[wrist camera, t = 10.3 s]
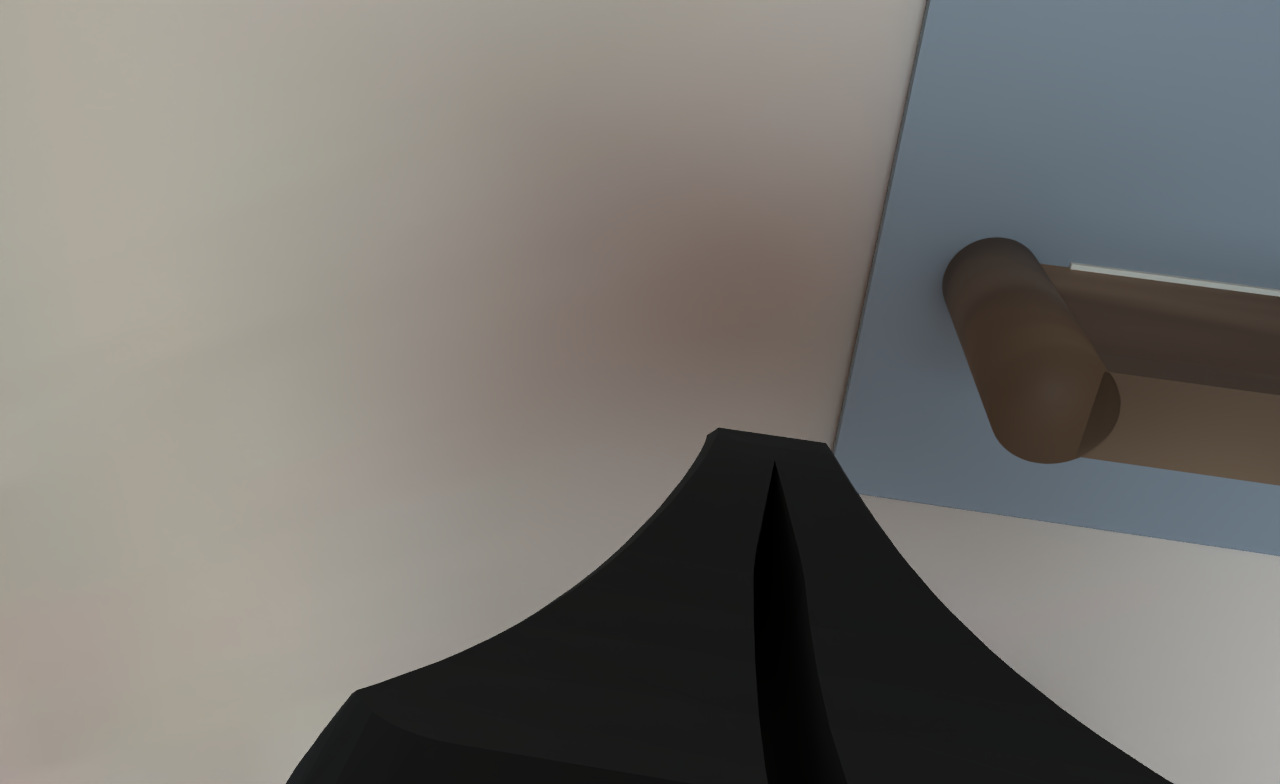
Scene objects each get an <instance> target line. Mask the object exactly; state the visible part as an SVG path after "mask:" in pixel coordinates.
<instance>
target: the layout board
mask: <svg viewBox="0 0 1280 784" xmlns="http://www.w3.org/2000/svg"><path fill="white" fill-rule="evenodd" d="M991 237H1002V238H1008V239H1012V240H1015V241H1017V242H1019V243H1021V244H1023V245H1024V246H1026V247H1027V248H1028V249H1029V250H1030V251H1031V252H1032V253H1033V254H1034V255H1035V257H1036V258H1037V260H1038V261H1039V263H1040V264H1047V265H1055V266H1062V267H1069V268H1070V269H1073V270H1080V271H1088V272H1096V273H1103V274H1111V275H1118V276H1126V277H1134V278H1141V279H1149V280H1157V281H1164V282H1172V283H1180V284H1187V285H1195V286H1202V287H1210V288H1218V289H1225V290H1233V291H1241V292H1248V293H1256V294H1263V295H1271V296H1279V297H1280V0H927V4H926V8H925V13H924V18H923V23H922V28H921V32H920V37H919V42H918V47H917V51H916V56H915V61H914V66H913V71H912V75H911V80H910V85H909V90H908V95H907V99H906V104H905V109H904V114H903V118H902V123H901V128H900V133H899V138H898V142H897V147H896V152H895V157H894V162H893V166H892V171H891V176H890V181H889V185H888V190H887V195H886V200H885V205H884V209H883V214H882V219H881V224H880V229H879V233H878V238H877V243H876V248H875V253H874V257H873V262H872V267H871V272H870V276H869V281H868V286H867V291H866V296H865V300H864V305H863V310H862V315H861V320H860V324H859V329H858V334H857V339H856V343H855V348H854V353H853V358H852V363H851V367H850V372H849V377H848V382H847V387H846V391H845V396H844V401H843V406H842V410H841V415H840V420H839V425H838V430H837V434H836V439H835V444H834V449H833V454H834V456H835V457H836V459H837V460H838V462H839V464H840V465H841V467H842V469H843V470H844V472H845V474H846V475H847V477H848V479H849V480H850V482H851V483H852V485H853V487H854V488H855V490H856V491H857V493H858V494H862V495H869V496H876V497H882V498H889V499H896V500H903V501H910V502H916V503H923V504H930V505H937V506H943V507H950V508H957V509H964V510H971V511H977V512H984V513H991V514H998V515H1004V516H1011V517H1018V518H1025V519H1032V520H1038V521H1045V522H1052V523H1059V524H1065V525H1072V526H1079V527H1086V528H1093V529H1099V530H1106V531H1113V532H1120V533H1127V534H1133V535H1140V536H1147V537H1154V538H1160V539H1167V540H1174V541H1181V542H1188V543H1194V544H1201V545H1208V546H1215V547H1221V548H1228V549H1235V550H1242V551H1249V552H1255V553H1262V554H1269V555H1276V556H1280V486H1278V485H1271V484H1264V483H1257V482H1250V481H1243V480H1236V479H1229V478H1222V477H1215V476H1208V475H1201V474H1194V473H1187V472H1180V471H1173V470H1166V469H1159V468H1152V467H1145V466H1138V465H1131V464H1124V463H1117V462H1110V461H1103V460H1096V459H1089V458H1082V457H1080V458H1077V459H1074V460H1071V461H1067V462H1063V463H1056V464H1041V463H1034V462H1029V461H1026V460H1023V459H1021V458H1019V457H1017V456H1015V455H1013V454H1012V453H1010V452H1009V451H1007V450H1006V449H1005V448H1004V447H1003V446H1002V445H1001V444H1000V443H999V441H998V440H997V438H996V437H995V435H994V433H993V430H992V428H991V425H990V422H989V420H988V417H987V414H986V412H985V409H984V406H983V403H982V401H981V398H980V395H979V392H978V390H977V387H976V384H975V382H974V379H973V376H972V373H971V371H970V368H969V365H968V363H967V360H966V357H965V354H964V352H963V349H962V346H961V344H960V341H959V338H958V335H957V333H956V330H955V327H954V324H953V322H952V319H951V316H950V314H949V311H948V308H947V305H946V303H945V300H944V296H943V291H942V282H943V276H944V273H945V270H946V268H947V266H948V264H949V263H950V261H951V260H952V259H953V257H954V256H955V255H956V254H957V253H958V252H959V251H960V250H962V249H963V248H964V247H966V246H967V245H969V244H971V243H973V242H975V241H978V240H981V239H985V238H991Z"/></svg>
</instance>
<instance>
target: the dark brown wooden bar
mask: <svg viewBox="0 0 1280 784" xmlns="http://www.w3.org/2000/svg"><path fill="white" fill-rule="evenodd" d="M942 291H943V296H944V300H945V303H946V305H947V308H948V311H949V314H950V316H951V319H952V322H953V324H954V327H955V330H956V333H957V335H958V338H959V341H960V344H961V346H962V349H963V352H964V354H965V357H966V360H967V363H968V365H969V368H970V371H971V373H972V376H973V379H974V382H975V384H976V387H977V390H978V392H979V395H980V398H981V401H982V403H983V406H984V409H985V412H986V414H987V417H988V420H989V422H990V425H991V428H992V430H993V433H994V435H995V437H996V438H997V440H998V441H999V443H1000V444H1001V445H1002V446H1003V447H1004V448H1005V449H1006V450H1007V451H1009V452H1010V453H1012V454H1013V455H1015V456H1017V457H1019V458H1021V459H1023V460H1026V461H1029V462H1034V463H1041V464H1056V463H1063V462H1067V461H1071V460H1074V459H1077V458H1080V457H1082V458H1089V459H1096V460H1103V461H1110V462H1117V463H1124V464H1131V465H1138V466H1145V467H1152V468H1159V469H1166V470H1173V471H1180V472H1187V473H1194V474H1201V475H1208V476H1215V477H1222V478H1229V479H1236V480H1243V481H1250V482H1257V483H1264V484H1271V485H1278V486H1280V297H1279V296H1271V295H1263V294H1256V293H1248V292H1241V291H1233V290H1225V289H1218V288H1210V287H1202V286H1195V285H1187V284H1180V283H1172V282H1164V281H1157V280H1149V279H1141V278H1134V277H1126V276H1118V275H1111V274H1103V273H1096V272H1088V271H1080V270H1073V269H1070V268H1069V267H1062V266H1055V265H1047V264H1040V263H1039V261H1038V260H1037V258H1036V257H1035V255H1034V254H1033V253H1032V252H1031V251H1030V250H1029V249H1028V248H1027V247H1026V246H1024V245H1023V244H1021V243H1019V242H1017V241H1015V240H1012V239H1008V238H1002V237H991V238H985V239H981V240H978V241H975V242H973V243H971V244H969V245H967V246H966V247H964V248H963V249H962V250H960V251H959V252H958V253H957V254H956V255H955V256H954V257H953V259H952V260H951V261H950V263H949V264H948V266H947V268H946V270H945V273H944V276H943V282H942Z"/></svg>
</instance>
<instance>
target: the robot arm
mask: <svg viewBox="0 0 1280 784" xmlns="http://www.w3.org/2000/svg"><path fill="white" fill-rule="evenodd" d="M286 784H1173V783H1172V782H1170V781H1168V780H1166V779H1165V778H1163V777H1162V776H1160V775H1158V774H1157V773H1155V772H1154V771H1152V770H1150V769H1149V768H1147V767H1146V766H1144V765H1143V764H1141V763H1140V762H1138V761H1137V760H1135V759H1134V758H1132V757H1131V756H1129V755H1128V754H1126V753H1125V752H1123V751H1122V750H1120V749H1119V748H1117V747H1116V746H1114V745H1113V744H1111V743H1110V742H1108V741H1107V740H1105V739H1104V738H1102V737H1100V736H1099V735H1098V734H1096V733H1095V732H1093V731H1092V730H1091V729H1089V728H1088V727H1086V726H1085V725H1084V724H1082V723H1081V722H1079V721H1078V720H1077V719H1075V718H1074V717H1073V716H1071V715H1070V714H1068V713H1067V712H1066V711H1064V710H1063V709H1062V708H1060V707H1059V706H1058V705H1056V704H1055V703H1054V702H1053V701H1051V700H1050V699H1049V698H1048V697H1046V696H1045V695H1044V694H1043V693H1041V692H1040V691H1039V690H1038V689H1036V688H1035V687H1034V686H1033V685H1031V684H1030V683H1029V682H1028V681H1026V680H1025V679H1024V678H1023V677H1021V676H1020V675H1019V674H1018V673H1016V672H1015V671H1014V670H1013V669H1012V668H1010V667H1009V666H1008V665H1007V664H1006V663H1005V662H1004V661H1002V660H1001V659H1000V658H999V657H998V656H997V655H996V654H994V653H993V652H992V651H991V650H990V649H989V648H988V647H987V646H986V645H985V644H984V643H983V642H982V641H981V640H979V639H978V638H977V637H976V636H975V635H974V634H973V633H972V632H971V631H970V630H969V629H968V628H967V627H966V626H965V625H964V624H963V623H962V622H961V621H960V620H959V619H958V618H957V617H956V616H955V615H954V614H953V613H952V612H951V611H950V610H949V609H948V608H947V607H946V606H945V605H944V604H943V603H942V602H941V601H940V600H939V599H938V598H937V597H936V595H935V594H934V593H933V592H932V591H931V590H930V589H929V588H928V586H927V585H926V584H925V583H924V582H923V580H922V579H921V578H920V577H919V576H918V575H917V573H916V572H915V571H914V570H913V569H912V568H911V566H910V565H909V564H908V563H907V562H906V560H905V559H904V558H903V557H902V555H901V554H900V553H899V551H898V550H897V549H896V547H895V546H894V545H893V543H892V542H891V540H890V539H889V538H888V536H887V535H886V534H885V532H884V531H883V529H882V528H881V527H880V525H879V524H878V523H877V521H876V520H875V518H874V517H873V515H872V514H871V512H870V511H869V510H868V508H867V507H866V505H865V504H864V502H863V500H862V499H861V497H860V496H859V494H858V493H857V491H856V490H855V488H854V487H853V485H852V483H851V482H850V480H849V479H848V477H847V475H846V474H845V472H844V470H843V469H842V467H841V465H840V464H839V462H838V460H837V459H836V457H835V456H834V454H833V453H832V451H831V450H830V448H829V447H828V446H827V444H826V443H821V442H814V441H807V440H800V439H793V438H786V437H779V436H772V435H766V434H759V433H752V432H745V431H738V430H731V429H724V428H717V429H716V430H714V431H713V432H711V433H710V434H708V435H707V438H706V441H705V444H704V446H703V448H702V450H701V452H700V453H699V455H698V457H697V458H696V460H695V462H694V463H693V465H692V466H691V468H690V469H689V470H688V472H687V473H686V475H685V476H684V478H683V479H682V480H681V482H680V483H679V484H678V485H677V487H676V488H675V489H674V490H673V492H672V493H671V494H670V495H669V497H668V498H667V499H666V500H665V501H664V503H663V504H662V505H661V506H660V508H659V509H658V510H657V511H656V512H655V513H654V514H653V515H652V516H651V517H650V518H649V520H648V521H647V522H646V523H645V524H644V525H643V526H642V527H641V528H640V529H639V530H638V531H637V532H636V533H635V534H634V535H633V536H632V537H631V538H630V539H629V540H628V541H627V542H626V543H625V544H624V545H623V546H622V547H621V548H620V549H619V550H618V551H617V552H615V553H614V554H613V555H612V556H611V557H610V558H609V559H608V560H607V561H605V562H604V563H603V564H602V565H601V566H599V567H598V568H597V569H596V570H595V571H593V572H592V573H591V574H590V575H588V576H587V577H586V578H585V579H583V580H582V581H581V582H579V583H578V584H577V585H576V586H574V587H573V588H571V589H570V590H569V591H567V592H566V593H564V594H563V595H561V596H560V597H558V598H557V599H555V600H554V601H553V602H551V603H550V604H548V605H547V606H545V607H544V608H542V609H541V610H539V611H538V612H536V613H535V614H533V615H532V616H530V617H528V618H527V619H525V620H523V621H522V622H520V623H518V624H517V625H515V626H513V627H511V628H509V629H508V630H506V631H504V632H502V633H500V634H498V635H496V636H494V637H492V638H490V639H488V640H486V641H484V642H482V643H480V644H477V645H475V646H473V647H471V648H469V649H467V650H465V651H462V652H460V653H458V654H456V655H453V656H451V657H448V658H446V659H444V660H441V661H439V662H436V663H433V664H431V665H428V666H425V667H422V668H420V669H417V670H414V671H411V672H409V673H406V674H403V675H400V676H397V677H395V678H392V679H389V680H386V681H384V682H381V683H378V684H375V685H372V686H369V687H366V688H362V689H359V690H357V691H355V692H354V693H352V694H351V696H350V697H349V698H348V699H347V701H346V702H345V703H344V704H343V706H342V707H341V708H340V709H339V711H338V712H337V713H336V715H335V716H334V717H333V718H332V720H331V721H330V722H329V724H328V725H327V726H326V728H325V729H324V730H323V731H322V733H321V734H320V735H319V737H318V738H317V740H316V741H315V743H314V744H313V745H312V747H311V748H310V749H309V751H308V752H307V753H306V754H305V756H304V757H303V758H302V760H301V761H300V762H299V764H298V765H297V767H296V768H295V770H294V771H293V773H292V775H291V776H290V778H289V779H288V781H287V783H286Z"/></svg>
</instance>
